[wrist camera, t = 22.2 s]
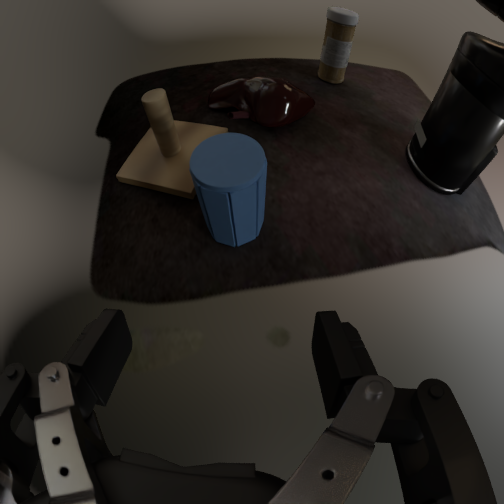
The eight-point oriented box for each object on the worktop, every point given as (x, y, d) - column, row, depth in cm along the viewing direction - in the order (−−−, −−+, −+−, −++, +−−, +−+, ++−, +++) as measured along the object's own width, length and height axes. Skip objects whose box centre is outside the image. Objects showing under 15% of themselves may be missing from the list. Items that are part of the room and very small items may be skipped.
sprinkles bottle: (324, 69, 38) (335, 4, 25) (347, 79, 37) (363, 13, 24) (312, 77, 36) (322, 7, 24) (337, 87, 35) (353, 16, 23)
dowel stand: (228, 135, 31) (222, 72, 22) (193, 199, 27) (171, 134, 19) (159, 124, 32) (141, 70, 23) (119, 181, 28) (86, 127, 20)
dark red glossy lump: (307, 134, 34) (262, 131, 26) (242, 111, 39) (191, 107, 31) (321, 92, 30) (279, 74, 23) (253, 74, 35) (202, 62, 28)
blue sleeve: (268, 206, 27) (274, 140, 18) (252, 252, 25) (251, 196, 16) (219, 193, 27) (207, 127, 19) (199, 236, 25) (176, 177, 17)
